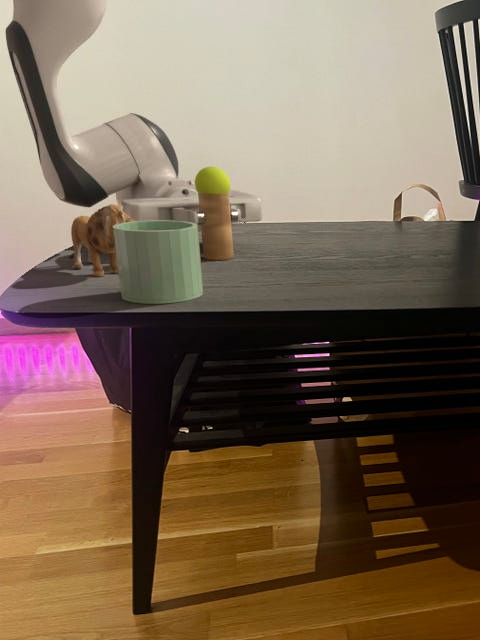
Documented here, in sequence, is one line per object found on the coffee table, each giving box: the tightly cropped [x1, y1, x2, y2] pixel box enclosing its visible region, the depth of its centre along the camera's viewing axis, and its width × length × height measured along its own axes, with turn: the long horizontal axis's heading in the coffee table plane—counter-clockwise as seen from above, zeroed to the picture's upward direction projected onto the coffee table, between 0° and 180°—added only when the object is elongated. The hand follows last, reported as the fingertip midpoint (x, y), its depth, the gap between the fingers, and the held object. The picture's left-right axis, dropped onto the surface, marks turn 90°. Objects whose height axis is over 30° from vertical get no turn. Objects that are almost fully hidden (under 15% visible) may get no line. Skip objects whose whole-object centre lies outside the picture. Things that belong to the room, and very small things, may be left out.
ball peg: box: [194, 166, 235, 261], centre depth 101 cm, size 5×5×13 cm
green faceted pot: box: [112, 220, 204, 305], centre depth 80 cm, size 9×9×8 cm
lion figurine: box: [67, 203, 136, 278], centre depth 91 cm, size 15×5×9 cm, turn 57°
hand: (218, 217), depth 101 cm, fingers closed on ball peg, 4 cm apart
